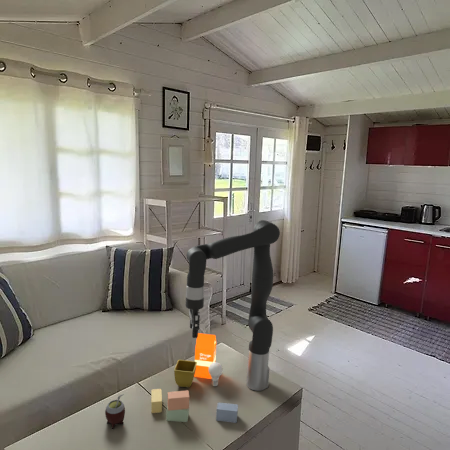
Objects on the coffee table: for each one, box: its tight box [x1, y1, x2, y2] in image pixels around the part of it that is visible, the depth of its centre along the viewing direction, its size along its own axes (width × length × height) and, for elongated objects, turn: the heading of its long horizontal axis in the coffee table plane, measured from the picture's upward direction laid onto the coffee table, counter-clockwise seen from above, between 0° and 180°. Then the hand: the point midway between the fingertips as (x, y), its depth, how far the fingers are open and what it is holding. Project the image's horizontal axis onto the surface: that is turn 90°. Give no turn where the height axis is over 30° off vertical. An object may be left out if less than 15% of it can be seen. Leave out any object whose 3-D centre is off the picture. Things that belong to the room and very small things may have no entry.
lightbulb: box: [208, 361, 224, 387], centre depth 158 cm, size 6×6×11 cm
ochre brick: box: [150, 388, 163, 414], centre depth 143 cm, size 8×4×5 cm, turn 12°
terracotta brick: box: [167, 389, 190, 411], centre depth 136 cm, size 8×4×5 cm, turn 102°
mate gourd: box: [104, 393, 126, 430], centre depth 131 cm, size 8×8×15 cm
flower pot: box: [173, 359, 197, 388], centre depth 158 cm, size 9×9×9 cm
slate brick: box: [215, 402, 239, 424], centre depth 138 cm, size 8×4×5 cm, turn 84°
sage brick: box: [166, 406, 190, 423], centre depth 137 cm, size 8×4×5 cm, turn 88°
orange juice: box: [194, 332, 217, 380], centre depth 166 cm, size 8×9×20 cm
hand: (193, 332), depth 148 cm, fingers open, 8 cm apart
